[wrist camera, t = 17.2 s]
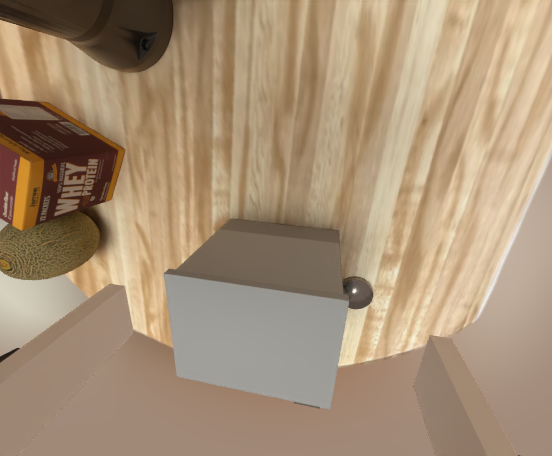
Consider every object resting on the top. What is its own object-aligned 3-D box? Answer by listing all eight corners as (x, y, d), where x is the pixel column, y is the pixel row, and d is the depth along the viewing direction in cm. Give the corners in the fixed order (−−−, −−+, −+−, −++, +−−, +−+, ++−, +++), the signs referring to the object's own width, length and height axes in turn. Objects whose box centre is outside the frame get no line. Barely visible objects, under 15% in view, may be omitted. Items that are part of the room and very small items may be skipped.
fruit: (65, 246, 54) (-24, 286, 41) (57, 193, 50) (-45, 219, 36) (116, 259, 53) (41, 306, 39) (112, 206, 49) (27, 238, 35)
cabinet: (229, 295, 51) (177, 383, 34) (228, 216, 45) (163, 273, 28) (329, 310, 48) (328, 416, 31) (341, 228, 42) (349, 301, 25)
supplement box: (112, 201, 49) (21, 232, 34) (38, 156, 48) (-86, 169, 34) (127, 150, 44) (31, 162, 30) (46, 101, 44) (-91, 89, 30)
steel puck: (334, 298, 47) (334, 303, 46) (343, 272, 45) (344, 277, 44) (365, 307, 47) (366, 312, 45) (376, 281, 45) (377, 286, 43)
